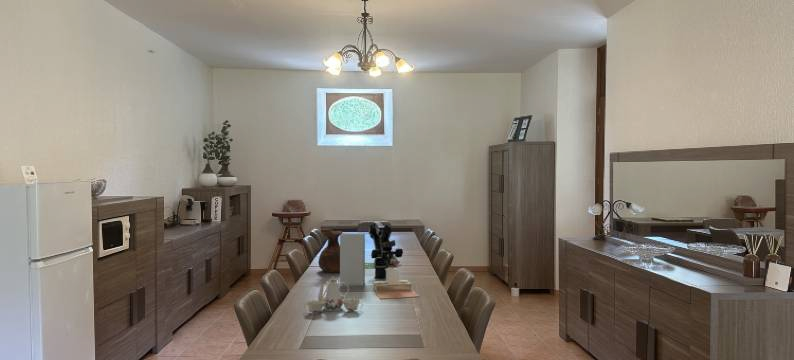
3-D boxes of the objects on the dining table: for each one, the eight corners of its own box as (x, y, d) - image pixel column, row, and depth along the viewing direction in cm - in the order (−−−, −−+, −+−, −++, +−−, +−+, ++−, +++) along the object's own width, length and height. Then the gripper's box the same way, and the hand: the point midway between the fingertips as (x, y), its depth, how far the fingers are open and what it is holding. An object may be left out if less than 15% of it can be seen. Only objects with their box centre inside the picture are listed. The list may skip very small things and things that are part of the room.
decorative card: (401, 253, 370) (403, 258, 350) (401, 263, 370) (403, 269, 350) (357, 253, 368) (356, 258, 348) (357, 264, 369) (356, 269, 349)
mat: (375, 293, 282) (375, 292, 282) (413, 291, 287) (413, 290, 287) (380, 299, 270) (380, 298, 270) (419, 296, 275) (419, 296, 275)
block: (386, 282, 292) (386, 268, 291) (396, 281, 293) (396, 267, 293) (388, 284, 285) (389, 270, 285) (399, 284, 286) (399, 270, 286)
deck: (373, 288, 294) (373, 281, 293) (406, 286, 298) (406, 279, 298) (376, 292, 283) (377, 285, 283) (411, 290, 288) (411, 283, 288)
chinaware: (305, 320, 237) (306, 286, 235) (302, 307, 253) (303, 275, 251) (364, 316, 245) (364, 283, 243) (357, 303, 261) (358, 272, 259)
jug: (314, 269, 346) (314, 225, 345) (343, 266, 355) (344, 224, 354) (323, 275, 326) (323, 229, 325) (354, 273, 335) (354, 228, 334)
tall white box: (364, 282, 307) (365, 233, 306) (363, 285, 301) (363, 235, 300) (341, 282, 308) (341, 233, 307) (339, 284, 302) (340, 234, 302)
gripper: (372, 236, 300) (375, 257, 289) (402, 235, 304) (407, 256, 294) (369, 247, 308) (373, 268, 297) (399, 246, 312) (403, 267, 302)
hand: (389, 265), depth 297 cm, fingers closed
